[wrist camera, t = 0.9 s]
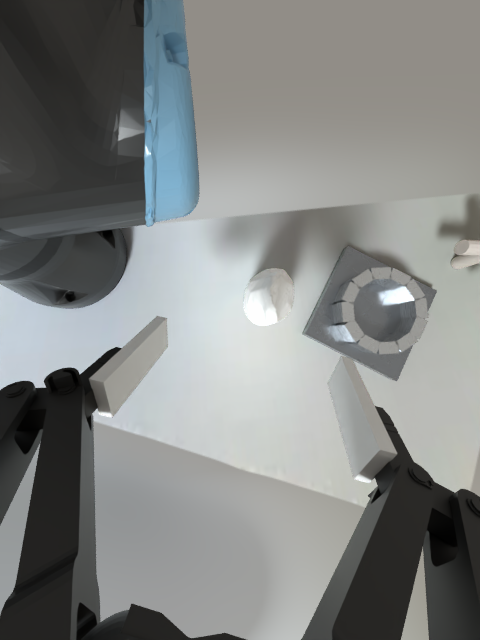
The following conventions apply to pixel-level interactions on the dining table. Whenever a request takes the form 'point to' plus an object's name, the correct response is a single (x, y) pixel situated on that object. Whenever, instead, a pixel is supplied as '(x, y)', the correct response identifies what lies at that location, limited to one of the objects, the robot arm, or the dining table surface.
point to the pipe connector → (466, 253)
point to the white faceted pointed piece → (269, 297)
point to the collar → (370, 313)
